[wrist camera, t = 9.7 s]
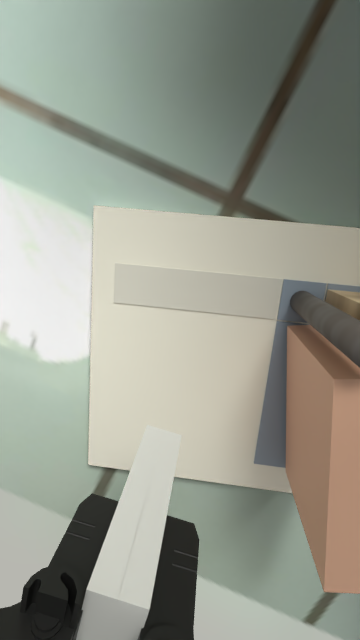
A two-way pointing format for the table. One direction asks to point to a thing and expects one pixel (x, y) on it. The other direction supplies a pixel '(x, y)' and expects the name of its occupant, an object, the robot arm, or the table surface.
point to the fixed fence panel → (333, 318)
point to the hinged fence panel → (325, 453)
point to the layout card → (203, 335)
